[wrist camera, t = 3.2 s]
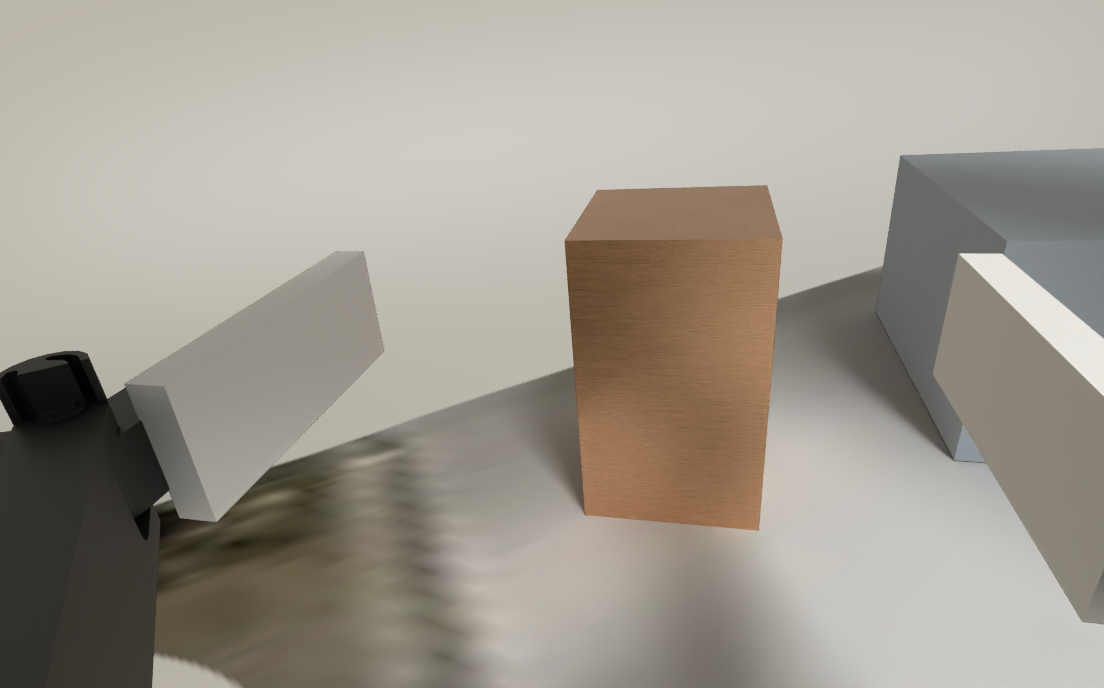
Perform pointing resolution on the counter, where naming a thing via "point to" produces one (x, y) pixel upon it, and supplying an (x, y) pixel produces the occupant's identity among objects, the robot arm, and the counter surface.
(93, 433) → the robot arm
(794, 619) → the counter surface
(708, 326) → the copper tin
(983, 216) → the stand
